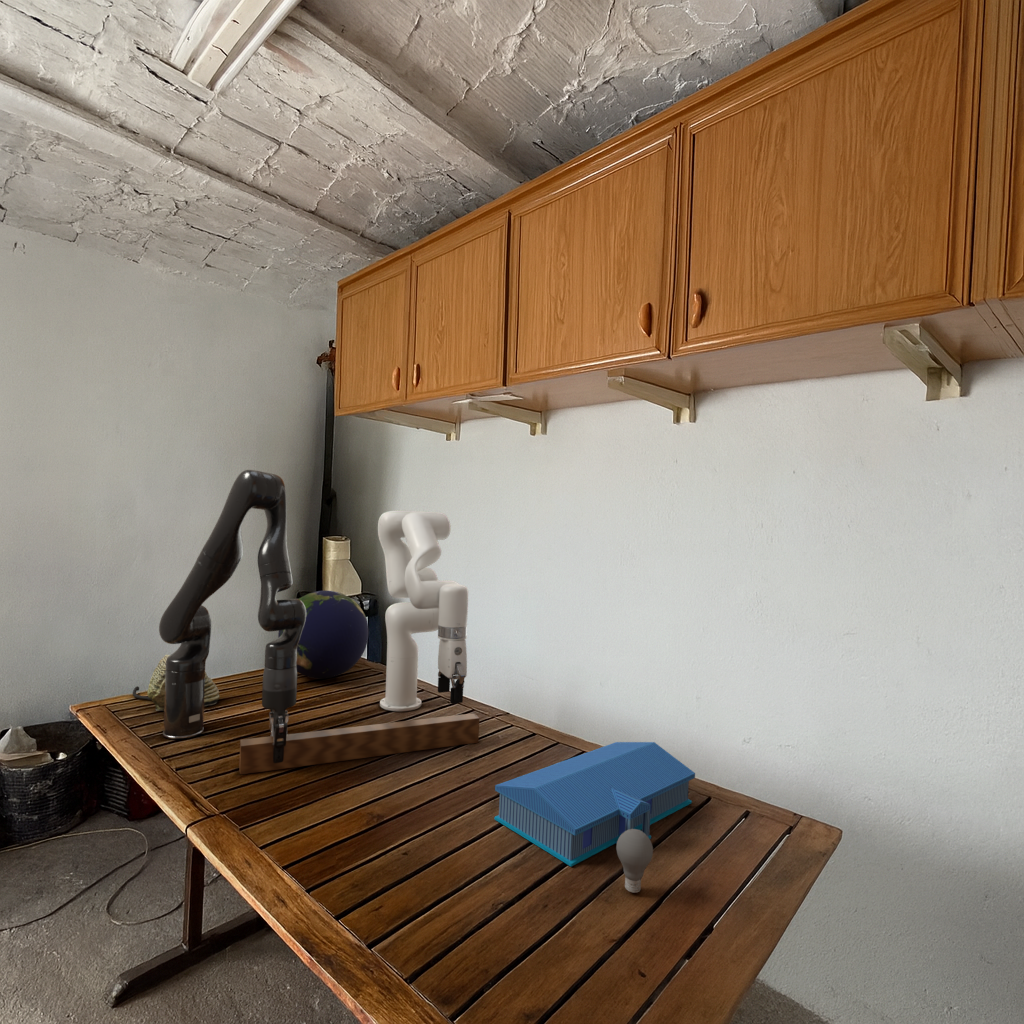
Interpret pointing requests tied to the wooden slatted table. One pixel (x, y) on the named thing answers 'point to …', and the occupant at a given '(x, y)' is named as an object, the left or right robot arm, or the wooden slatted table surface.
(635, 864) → the light bulb
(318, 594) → the globe
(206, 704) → the fossil
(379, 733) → the bar
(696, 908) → the wooden slatted table surface
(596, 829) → the model building
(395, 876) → the wooden slatted table surface
